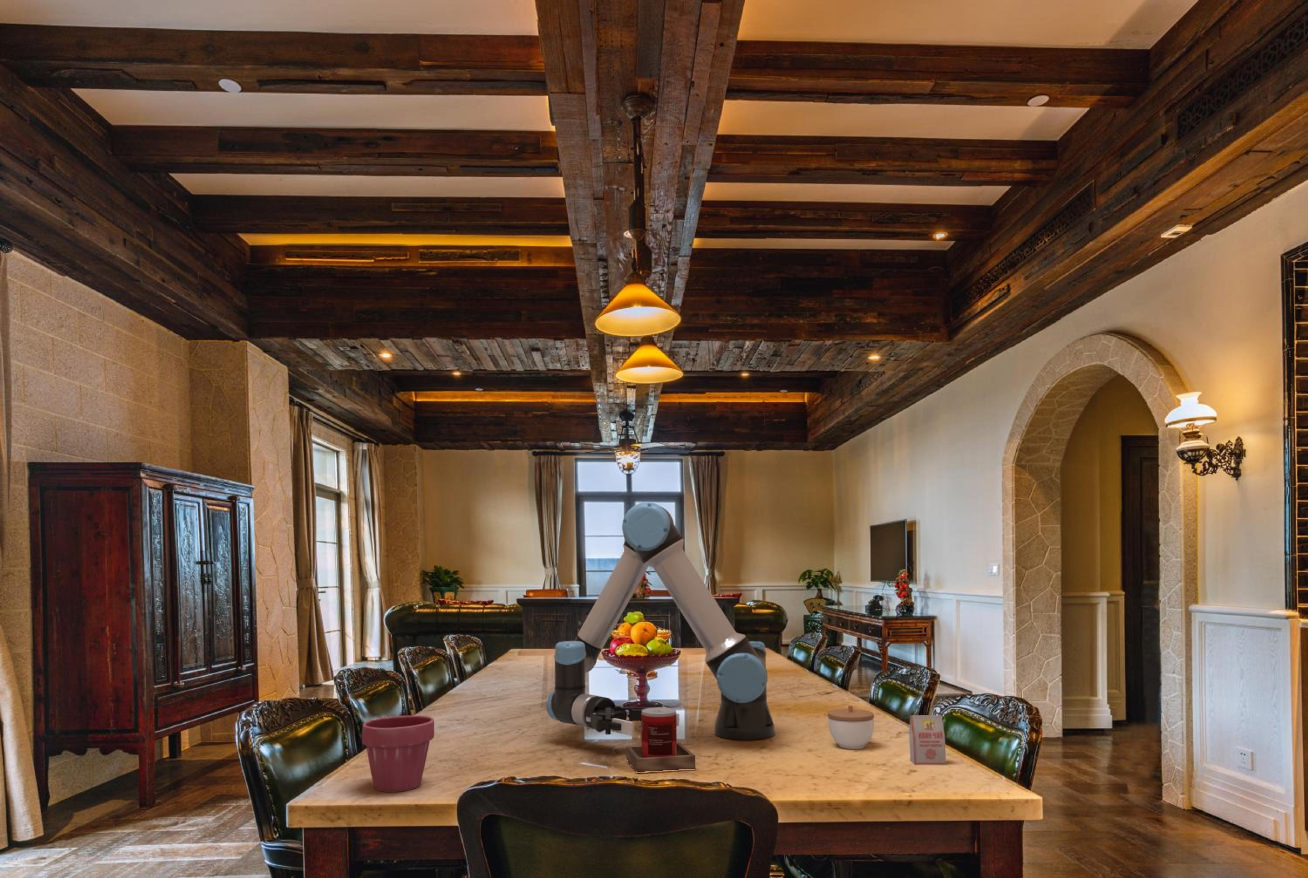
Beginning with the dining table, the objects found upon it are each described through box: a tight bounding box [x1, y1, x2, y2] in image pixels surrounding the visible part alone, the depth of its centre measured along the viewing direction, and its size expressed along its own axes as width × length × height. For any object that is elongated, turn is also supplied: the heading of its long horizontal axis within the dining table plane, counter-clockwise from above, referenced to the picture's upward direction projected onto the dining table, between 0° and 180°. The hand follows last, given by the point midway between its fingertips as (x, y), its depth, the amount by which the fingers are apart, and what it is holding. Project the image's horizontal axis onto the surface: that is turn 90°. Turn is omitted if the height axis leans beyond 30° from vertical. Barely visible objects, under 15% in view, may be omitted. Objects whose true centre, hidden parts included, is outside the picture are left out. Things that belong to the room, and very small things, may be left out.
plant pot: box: [361, 715, 435, 793], centre depth 178 cm, size 14×14×13 cm
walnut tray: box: [625, 742, 696, 772], centre depth 193 cm, size 13×13×3 cm
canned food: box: [640, 706, 678, 758], centre depth 193 cm, size 8×8×11 cm
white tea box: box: [908, 714, 947, 766], centre depth 193 cm, size 4×7×10 cm, turn 87°
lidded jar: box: [827, 704, 875, 750], centre depth 209 cm, size 11×11×9 cm
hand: (656, 724), depth 194 cm, fingers open, 13 cm apart
